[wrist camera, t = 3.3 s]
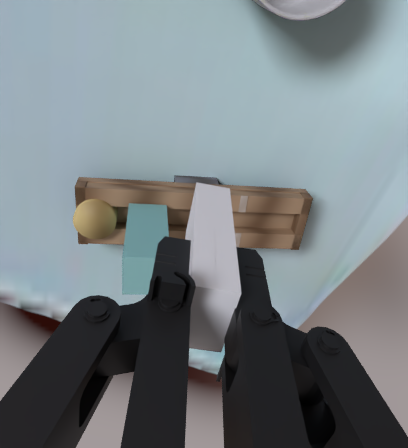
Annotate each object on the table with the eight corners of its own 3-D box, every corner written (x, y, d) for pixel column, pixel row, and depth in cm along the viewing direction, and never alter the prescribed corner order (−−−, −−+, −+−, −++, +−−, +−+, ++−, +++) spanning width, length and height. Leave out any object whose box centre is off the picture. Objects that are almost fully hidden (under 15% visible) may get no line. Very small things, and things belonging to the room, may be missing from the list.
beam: (83, 223, 46) (75, 248, 41) (80, 170, 42) (70, 190, 38) (287, 230, 50) (301, 254, 45) (299, 182, 46) (316, 202, 42)
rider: (129, 228, 43) (122, 294, 33) (129, 197, 41) (122, 257, 31) (164, 229, 44) (167, 294, 34) (166, 198, 42) (170, 258, 32)
